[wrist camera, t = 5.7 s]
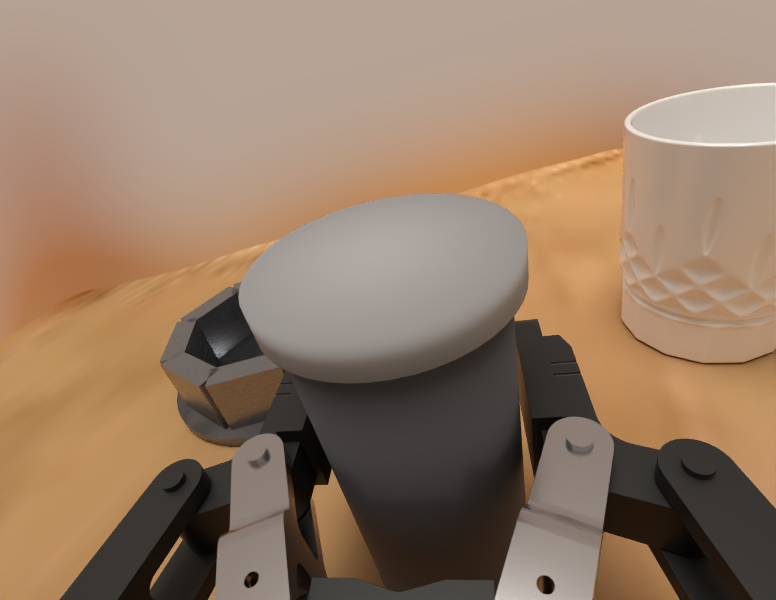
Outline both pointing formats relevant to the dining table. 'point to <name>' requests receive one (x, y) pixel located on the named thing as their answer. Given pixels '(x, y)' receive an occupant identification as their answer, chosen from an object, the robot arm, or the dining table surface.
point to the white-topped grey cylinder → (407, 372)
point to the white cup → (701, 224)
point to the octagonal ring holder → (220, 372)
